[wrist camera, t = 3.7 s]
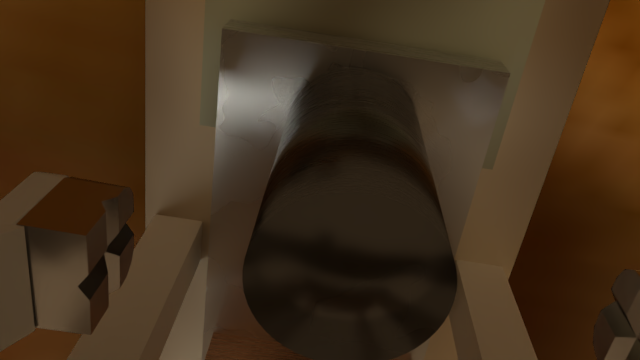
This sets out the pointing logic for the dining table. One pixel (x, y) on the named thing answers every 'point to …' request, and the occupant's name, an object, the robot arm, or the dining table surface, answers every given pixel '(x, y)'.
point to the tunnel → (180, 266)
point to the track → (386, 27)
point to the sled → (339, 193)
